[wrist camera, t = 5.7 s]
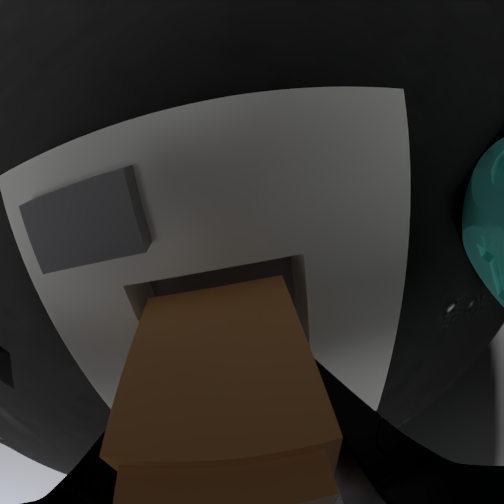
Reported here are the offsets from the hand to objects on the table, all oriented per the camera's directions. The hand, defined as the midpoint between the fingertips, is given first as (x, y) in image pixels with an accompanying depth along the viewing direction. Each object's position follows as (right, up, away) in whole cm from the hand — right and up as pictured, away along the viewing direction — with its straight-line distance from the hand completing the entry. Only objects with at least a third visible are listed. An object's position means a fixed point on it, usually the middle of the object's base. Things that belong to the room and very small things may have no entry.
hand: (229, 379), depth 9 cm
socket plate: (0, +2, +4) cm, 5 cm away
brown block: (0, +1, +2) cm, 2 cm away
